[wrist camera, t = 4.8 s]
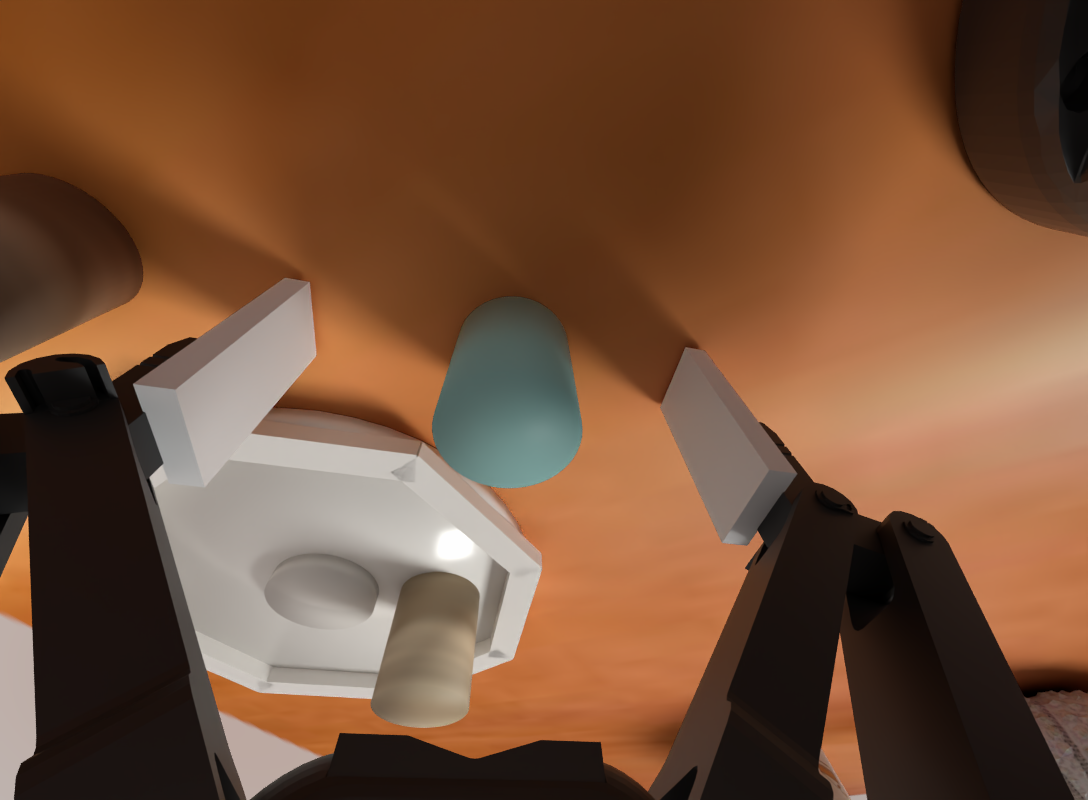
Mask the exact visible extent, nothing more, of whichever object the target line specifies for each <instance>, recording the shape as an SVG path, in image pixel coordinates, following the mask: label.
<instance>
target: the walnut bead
mask: <svg viewBox="0 0 1088 800" xmlns="http://www.w3.org/2000/svg"><path fill="white" fill-rule="evenodd" d="M142 282H143V266H142V261H141V257H140V255H139V252H138V249H137V247H136V245H135V243H134V241H133V240H132V238H131V237H130V235H129V233H128V232H127V231H126V229H125V228H124V227H123V225H122V224H121V223H120V222H119V221H118V220H117V218H116V217H115V216H114V215H113V214H112V213H111V212H110V211H109V210H108V209H106V208H105V207H104V206H103V205H102V204H101V203H99V202H98V201H97V200H96V199H94V198H93V197H91V196H90V195H88V194H87V193H85V192H84V191H82V190H80V189H78V188H77V187H75V186H73V185H71V184H69V183H66V182H64V181H62V180H59V179H56V178H53V177H50V176H46V175H41V174H34V173H20V174H12V175H4V176H0V362H3V361H5V360H7V359H9V358H11V357H13V356H15V355H17V354H19V353H22V352H24V351H26V350H28V349H30V348H32V347H34V346H36V345H38V344H41V343H43V342H45V341H47V340H49V339H51V338H53V337H55V336H57V335H60V334H62V333H64V332H66V331H68V330H70V329H72V328H74V327H76V326H79V325H81V324H83V323H85V322H87V321H89V320H91V319H93V318H95V317H98V316H100V315H102V314H104V313H106V312H108V311H110V310H112V309H114V308H117V307H119V306H121V305H123V304H125V303H127V302H129V301H130V300H131V299H133V298H134V297H135V296H136V295H137V293H138V292H139V290H140V288H141V285H142Z"/></svg>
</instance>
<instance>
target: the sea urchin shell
mask: <svg viewBox="0 0 1088 800" xmlns="http://www.w3.org/2000/svg"><path fill="white" fill-rule="evenodd" d="M1024 698H1025V700H1026V702H1027V704H1028V706H1029V708H1030V710H1031V712H1032V714H1033V716H1034V718H1035V720H1036V722H1037V724H1038V726H1039V728H1040V730H1041V732H1042V734H1043V736H1044V738H1045V740H1046V742H1047V744H1048V746H1049V748H1050V750H1051V752H1052V754H1053V756H1054V758H1055V760H1056V763H1057V765H1058V767H1059V769H1060V771H1061V773H1062V775H1063V777H1064V779H1065V781H1066V783H1067V785H1068V787H1069V789H1070V791H1071V793H1072V795H1073V797H1074V799H1075V800H1088V693H1084V692H1082V691H1080V690H1078V691H1076V690H1075V691H1073V692H1071V693H1069V692H1065V691H1063V690H1061V691H1060V692H1059V693H1056V692H1054V691H1052V690H1050V691H1048V692H1046V691H1045V692H1042V693H1040V692H1038V693H1037V695H1036V696H1034V697H1030V698H1026V697H1024Z"/></svg>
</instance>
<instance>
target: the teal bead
mask: <svg viewBox="0 0 1088 800" xmlns="http://www.w3.org/2000/svg"><path fill="white" fill-rule="evenodd" d="M432 433H433V438H434V442H435V445H436V447H437V449H438V451H439V453H440V455H441V456H442V457H443V459H444V460H445V461H446V462H447V463H448V464H449V466H450V467H452V468H453V469H454V470H455V471H456V472H458V473H459V474H461V475H462V476H464V477H466V478H468V479H470V480H472V481H475V482H477V483H480V484H483V485H487V486H492V487H498V488H519V487H526V486H531V485H535V484H538V483H541V482H543V481H545V480H548V479H550V478H551V477H553V476H555V475H556V474H558V473H559V472H560V471H562V470H563V469H564V468H565V467H566V466H567V465H568V464H569V463H570V462H571V460H572V459H573V458H574V456H575V454H576V453H577V451H578V448H579V446H580V443H581V438H582V421H581V415H580V409H579V403H578V398H577V392H576V386H575V380H574V374H573V368H572V363H571V357H570V351H569V345H568V339H567V335H566V332H565V330H564V327H563V325H562V324H561V322H560V320H559V319H558V318H557V316H556V315H555V314H554V313H553V312H552V311H551V310H549V309H548V308H547V307H545V306H544V305H542V304H540V303H538V302H536V301H534V300H531V299H527V298H523V297H516V296H507V297H500V298H496V299H492V300H490V301H487V302H485V303H483V304H482V305H480V306H478V307H477V308H476V309H475V310H473V311H472V312H471V313H470V315H469V316H468V317H467V318H466V320H465V321H464V323H463V325H462V327H461V330H460V333H459V336H458V339H457V342H456V345H455V349H454V352H453V355H452V358H451V361H450V365H449V368H448V371H447V374H446V377H445V381H444V384H443V387H442V390H441V393H440V397H439V400H438V403H437V406H436V409H435V413H434V416H433V422H432Z"/></svg>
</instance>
